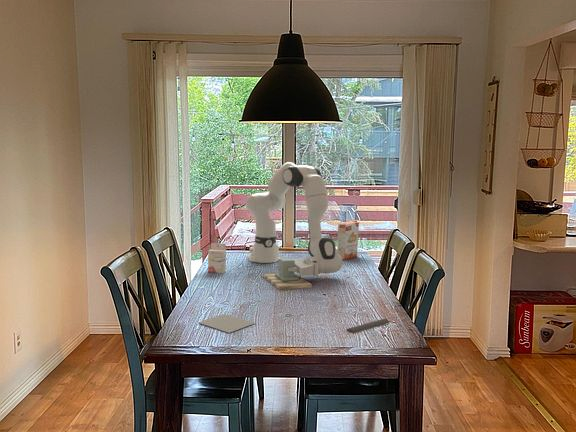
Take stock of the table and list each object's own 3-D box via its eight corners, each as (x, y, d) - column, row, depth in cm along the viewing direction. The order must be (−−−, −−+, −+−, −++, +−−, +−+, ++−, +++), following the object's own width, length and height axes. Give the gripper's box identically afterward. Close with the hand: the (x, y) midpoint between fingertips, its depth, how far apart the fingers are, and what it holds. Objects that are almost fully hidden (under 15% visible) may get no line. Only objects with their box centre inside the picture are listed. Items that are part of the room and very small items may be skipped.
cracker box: (345, 260, 323) (346, 224, 320) (336, 258, 327) (337, 223, 323) (358, 256, 334) (359, 221, 331) (349, 255, 337) (350, 220, 334)
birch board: (263, 276, 283) (263, 273, 283) (292, 274, 289) (292, 271, 289) (279, 290, 259) (279, 286, 259) (311, 287, 265) (311, 284, 264)
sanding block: (274, 275, 279) (275, 257, 277) (290, 274, 281) (290, 256, 280) (282, 281, 267) (282, 262, 266) (298, 280, 270) (298, 261, 269)
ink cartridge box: (207, 272, 290) (207, 244, 287) (210, 270, 295) (210, 242, 292) (224, 273, 289) (224, 245, 287) (226, 271, 294) (226, 243, 292)
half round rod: (390, 324, 216) (390, 320, 216) (353, 335, 204) (353, 330, 204) (381, 321, 219) (382, 317, 219) (345, 331, 207) (345, 327, 207)
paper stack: (240, 309, 230) (240, 308, 230) (287, 323, 215) (287, 321, 215) (197, 324, 212) (197, 322, 212) (246, 340, 197) (246, 338, 197)
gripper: (303, 255, 287) (278, 256, 282) (319, 263, 268) (292, 265, 263) (303, 267, 288) (277, 269, 283) (318, 276, 269) (291, 278, 264)
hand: (284, 267), depth 273 cm, fingers closed on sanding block, 6 cm apart
